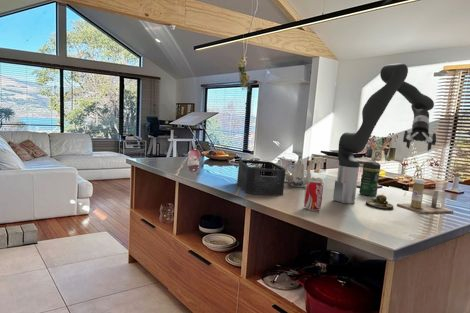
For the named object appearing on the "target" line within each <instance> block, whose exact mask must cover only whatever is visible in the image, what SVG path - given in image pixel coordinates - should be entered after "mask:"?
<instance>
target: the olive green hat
mask: <svg viewBox="0 0 470 313" xmlns="http://www.w3.org/2000/svg"><path fill="white" fill-rule="evenodd" d="M365 205H368V206H371V207H375V208H380V209H389V210H390V211H392V210H393V209H394V205H393V204H392V203H389V201H388V200H387V197H386V195H385V194H378V195H376V198H374V197H372V198H371V199H370V200H366V201H365Z"/></svg>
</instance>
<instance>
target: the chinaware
mask: <svg viewBox="0 0 470 313" xmlns="http://www.w3.org/2000/svg"><path fill="white" fill-rule="evenodd" d="M289 165H292V167H293V168H294V170H293V173H292V172H290V171H289V169H288V167H289ZM305 166H306V163H304V161H303V160H302V158H299V159H298V160H297V161H295V162H294V163H293V162H292V163H291V162H290V163H288V164H287V165H286V168H285V169H286V172H285V182H286V181H287V183H290V186H291V187H296V188H306V184H307V182H308V180H318V181H322V185H323V186H324V181H325V178H321V177H315V176H314V177H313V176H312V173H311V169H310V168H311V166H312V164H308V165H307V167H306V175H305Z"/></svg>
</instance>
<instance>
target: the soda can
mask: <svg viewBox="0 0 470 313" xmlns="http://www.w3.org/2000/svg"><path fill="white" fill-rule="evenodd" d="M323 192H324V185H323V184H322V181H318V180H308V182H307V184H306V185H305V190H304V200H303V207H304V208H305V209H306V210H308V211H311V212H317V211H320V209H321V208H322V203H323Z"/></svg>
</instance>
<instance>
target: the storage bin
mask: <svg viewBox="0 0 470 313" xmlns="http://www.w3.org/2000/svg"><path fill="white" fill-rule="evenodd" d="M248 164H253V165H254V164H258V165H261V167H260V166H259V167H257V166H248ZM286 172H287V170H286V168H284V167H282V166H281V165H278V164H276V163H274V162H271V161H268V160H267V161H263V160H262V161H261V160H250V159H249V160H248V159H240V160H239V162H238V170H237V178H236V179H237V181H236V184H237V185H238V186H239V187H240V188H241V189H242V190H243V191H244V192H245V193H246V194H250V195H261V196H262V195H263V196H264V195H266V196H284V189H285V182H286V178H285V173H286Z"/></svg>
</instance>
